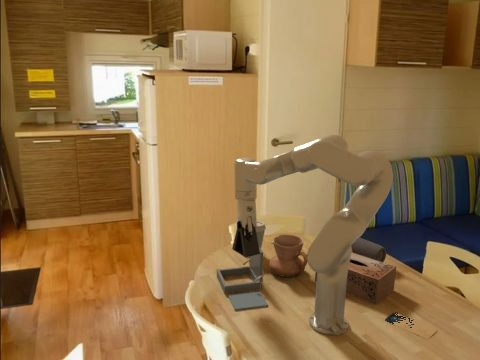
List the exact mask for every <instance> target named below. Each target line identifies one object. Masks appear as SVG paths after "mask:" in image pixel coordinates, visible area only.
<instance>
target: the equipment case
mask: <svg viewBox="0 0 480 360" xmlns="http://www.w3.org/2000/svg"><path fill="white" fill-rule="evenodd" d="M259 250H260V254H257V255H254V256H250V257H248V258H247V260H245V261H244V262H243V263H242V265H243V266H240V267H231V268H230V267H229V268H223V269H222V268H221V269H219V268H218V269H216V279H217V280H218V282H219V285H220V287H221V290H222V291H223V294H224V295H226V294H227V295H229V294H237V293H246V292H254V291H261V290H262V283H263V282H264V255H265V253H264V250H262V248H261V249H260V247H259ZM248 263H249V266H245V265H246V264H248ZM244 275H245V276H247V275H248V276H250V279H251V280H252V281H249V282H242V283H241V282H240V283H233V284H232V283H231V284H227V283H226V281H225V279H224V278H228V277H235V276H236V277H237V276H244Z"/></svg>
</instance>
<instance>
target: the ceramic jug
mask: <svg viewBox="0 0 480 360" xmlns="http://www.w3.org/2000/svg"><path fill="white" fill-rule="evenodd" d="M270 244H271V245H273V247H274V251H275V254H276V255H275V256H273V257H271V259H270V260H269V263H268V266H269V269H270V271H272V272H273V273H274V274H276V275H277V276H280V277H286V278H288V277H297V276H299V275H301V274H303V272H304V271H305V269H306V267H307V264H308V261H307V253H305V252H303V251H302V250H303V246H304V239H303V238H302V237H300V236H298V235H296V234H287V233H285V234H279V235H275V236H274V237H273V239H272V241H271V242H270ZM300 256H302V258H303V259H302V258H301V257H300Z"/></svg>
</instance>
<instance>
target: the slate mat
mask: <svg viewBox="0 0 480 360" xmlns="http://www.w3.org/2000/svg"><path fill="white" fill-rule="evenodd" d="M227 295H228V298H229V300H230V304H231V306H232V307H233V309H234V312H235V311H243V310H251V309H257V308H266V307H269V304H268V302H267V301H266V299H265V298H264V296H263V294H262V292H261V290H255V291H246V292H238V293H230V294H227Z"/></svg>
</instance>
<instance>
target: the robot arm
mask: <svg viewBox="0 0 480 360" xmlns="http://www.w3.org/2000/svg"><path fill="white" fill-rule="evenodd" d="M318 169H319V170H321V171H322V172H324V173H326V174H328V175H330V176H333V177H335V178H336V179H337V180H340V181H341V182H344V183H346V184H347V185H350V186H354V187H357V188H356V190H355V191H354V192H353V193H352V196H351V197H350V199H349V200H348V202H347V203H346V204H345V205H344V207H343V208H342V209H341V210H340V211H338V212H337V213H336V214H334V215H333V216H331V217H330V218H328V220H327V221H326V222H325V223H324V225H323V226H322V227H321V229H320V231H319V232H318V234H317V236H316V237H315V238H314V240H313V241H312V243H311V244H310V246H309V248H308V250H307V253H306V255H307V261H308V262H307V264H308V266H309V268H310V269H311V270H312V271H313V272H314V273H315V272H317V280H316V281H315V284H316V285H315V299H314V312H313V313H312V314H310V316H309V318H308V319H309V320H308V322H309V325H310V327H311V328H312V329H313V330H315V331H316V332H319V333H321V334H324V335H336V336H340V335H341V334H342V333H345V332H346V331H347V330H348V328H349V321H348V318H347V317H345V311H346V310H345V307H346V297H347V296H346V295H347V293H346V286H347V276H348V268H349V263H350V258H351V252H352V247H351V245H352V244H353V243H354V242H355V241H356V240H357V239H358V238H361V237H362V236H363V234H364V233H365V232H366V229H367V228H368V226H369V224H370V223H372V220H374V218H375V216H376V214H377V213H378V211H379V209H380V208H381V207H382V205H383V204H384V202H385V201H386V199H387V197H388V196H389V193H390V191H391V189H392V185H393V179H394V177H393V176H394V173H393V169H392V165H391V163H390V161H389V159H388V158H387V156H386V155H385V154H383V153H382V152H381V151H378V150H374V149H371V150H365V151H362V152H360V153H358V154H355V153H353V152H350V151H349V144H348V142H347V140H346V139H345V138H344V137H343V136H341V135H338V134H330V135H327V136H323V137H319V138H317V139H315V140H311V141H310V142H306V143H304V144H301V145H298V146H295V147H293V148H292V150H290V151H287V152H284V153H282V154H281V153H280V154H279V155H275V156H272V157H268V158H267V159H263V160H259V161H256V159H255V158H251V157H239V158H237V159H235V161H234V199H235V200H236V201H237V205H236V207H237V208H236V209H237V211H236V212H237V220H238V221H240V222H241V224H242V227H243V228H244V236H246V239H247V240H248V241H249V242H250V237H251V238H252V225H253V226H254V227H256V226H257V221H258V219H257V206H256V199H257V196H258V195H257V189H258V187H257V185H259V186H261V185H266V184H268V183H271V182H273V181H275V180H277V179H280V178H283V177H285V176H289V175H293V174H296V173H301V174H305V173H308V172H311V171H314V170H318ZM238 221H237V222H238ZM245 225H247V226H245ZM246 229H247V230H246Z"/></svg>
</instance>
